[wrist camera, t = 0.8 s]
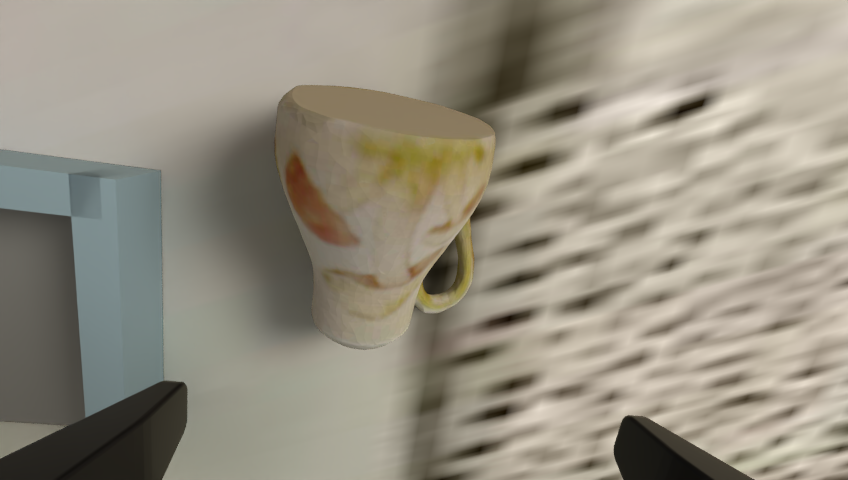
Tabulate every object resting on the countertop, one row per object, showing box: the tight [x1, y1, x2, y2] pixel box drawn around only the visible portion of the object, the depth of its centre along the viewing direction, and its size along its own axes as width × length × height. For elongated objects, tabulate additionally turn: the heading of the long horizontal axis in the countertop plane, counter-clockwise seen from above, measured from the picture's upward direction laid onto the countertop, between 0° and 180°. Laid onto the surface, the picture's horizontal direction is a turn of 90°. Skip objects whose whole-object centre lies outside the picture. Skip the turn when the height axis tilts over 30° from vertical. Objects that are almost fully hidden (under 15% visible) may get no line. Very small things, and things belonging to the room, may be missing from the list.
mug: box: [275, 85, 495, 350], centre depth 15 cm, size 8×10×10 cm
